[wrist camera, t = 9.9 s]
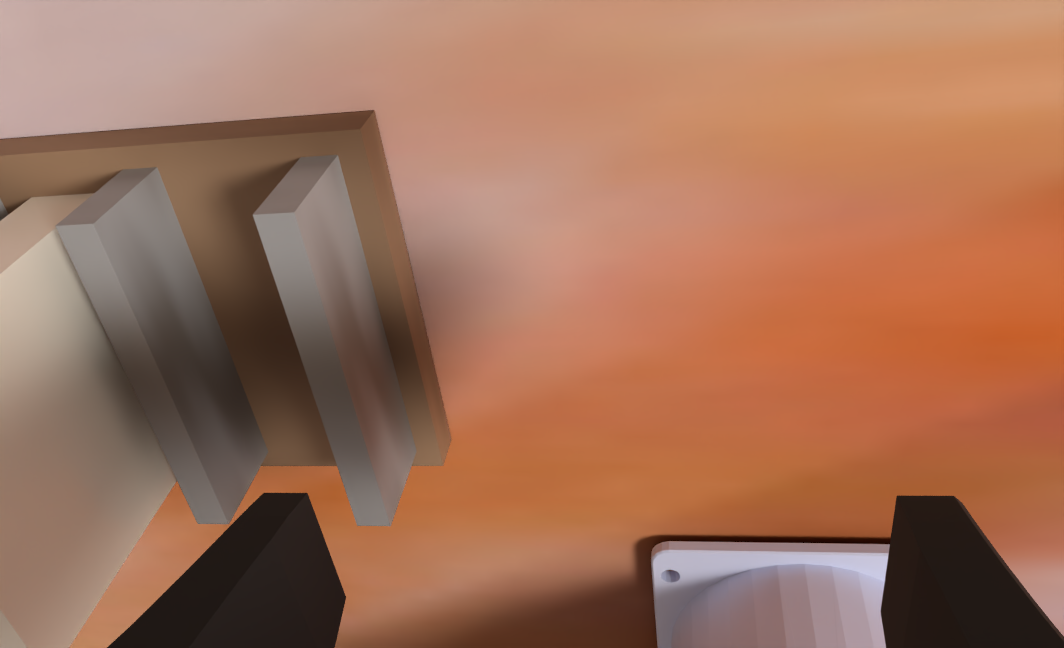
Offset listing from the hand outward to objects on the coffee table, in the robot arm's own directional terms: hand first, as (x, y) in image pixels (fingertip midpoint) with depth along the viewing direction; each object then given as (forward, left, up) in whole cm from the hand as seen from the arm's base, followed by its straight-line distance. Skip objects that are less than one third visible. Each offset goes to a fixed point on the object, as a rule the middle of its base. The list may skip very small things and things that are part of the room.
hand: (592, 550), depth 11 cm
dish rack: (-2, +12, -9) cm, 15 cm away
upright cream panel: (-2, +12, -8) cm, 15 cm away
